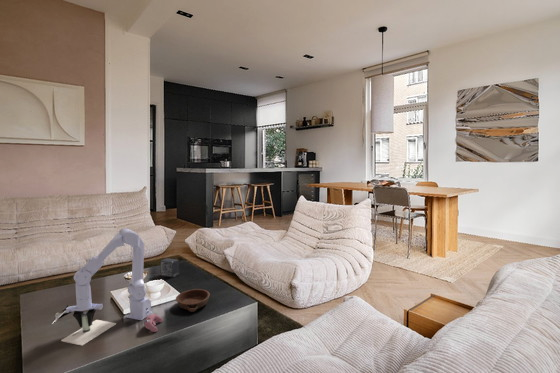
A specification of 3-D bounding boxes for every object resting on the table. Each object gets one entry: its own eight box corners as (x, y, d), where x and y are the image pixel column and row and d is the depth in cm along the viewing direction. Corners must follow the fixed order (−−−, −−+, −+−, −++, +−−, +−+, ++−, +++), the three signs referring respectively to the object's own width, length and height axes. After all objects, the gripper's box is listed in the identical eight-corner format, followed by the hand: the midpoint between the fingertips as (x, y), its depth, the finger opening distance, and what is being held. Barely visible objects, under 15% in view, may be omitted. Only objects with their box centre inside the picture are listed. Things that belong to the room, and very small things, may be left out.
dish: (173, 316, 157) (173, 306, 156) (178, 297, 178) (178, 288, 178) (209, 312, 160) (209, 303, 160) (210, 294, 182) (210, 285, 181)
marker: (92, 329, 145) (90, 312, 145) (86, 332, 142) (85, 315, 142) (86, 328, 146) (85, 311, 145) (80, 332, 143) (79, 315, 142)
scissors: (42, 326, 150) (41, 321, 150) (64, 306, 171) (64, 302, 171) (60, 324, 152) (59, 320, 151) (80, 304, 172) (79, 300, 172)
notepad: (116, 324, 150) (116, 323, 150) (82, 345, 133) (81, 344, 133) (96, 320, 154) (96, 319, 154) (61, 341, 137) (61, 340, 137)
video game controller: (155, 325, 152) (147, 313, 151) (163, 320, 152) (156, 308, 151) (149, 336, 142) (140, 323, 141) (158, 331, 142) (150, 318, 141)
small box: (180, 274, 213) (179, 259, 212) (173, 278, 207) (172, 262, 206) (167, 272, 217) (167, 257, 216) (160, 275, 211) (159, 260, 210)
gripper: (104, 291, 148) (106, 319, 149) (70, 294, 145) (72, 322, 147) (98, 298, 141) (100, 327, 142) (62, 301, 138) (65, 330, 140)
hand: (86, 325), depth 144 cm, fingers closed on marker, 3 cm apart
